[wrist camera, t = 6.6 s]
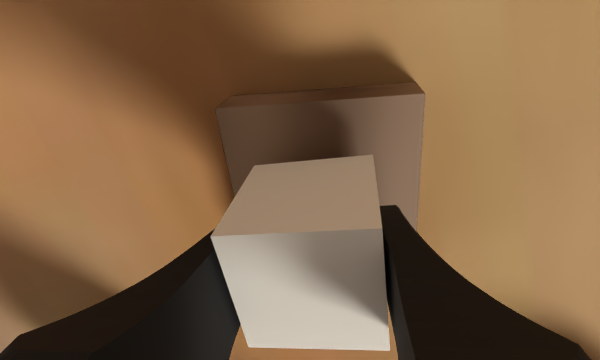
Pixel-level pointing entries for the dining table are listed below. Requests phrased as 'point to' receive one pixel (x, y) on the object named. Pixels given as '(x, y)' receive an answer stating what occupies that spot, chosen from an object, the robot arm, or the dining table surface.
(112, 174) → the dining table surface
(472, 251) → the dining table surface
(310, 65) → the dining table surface
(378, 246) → the cream cube
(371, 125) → the walnut base
